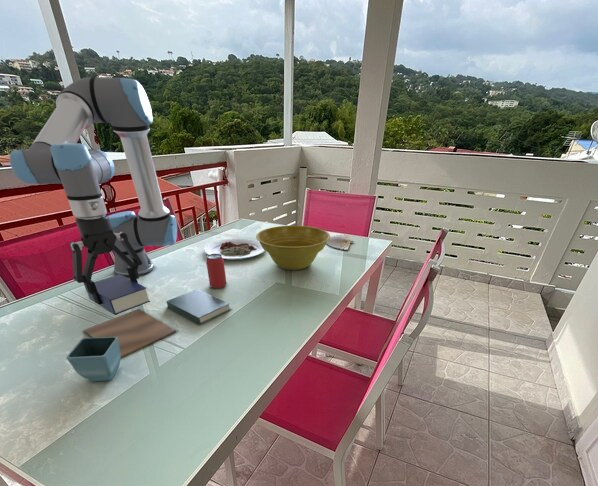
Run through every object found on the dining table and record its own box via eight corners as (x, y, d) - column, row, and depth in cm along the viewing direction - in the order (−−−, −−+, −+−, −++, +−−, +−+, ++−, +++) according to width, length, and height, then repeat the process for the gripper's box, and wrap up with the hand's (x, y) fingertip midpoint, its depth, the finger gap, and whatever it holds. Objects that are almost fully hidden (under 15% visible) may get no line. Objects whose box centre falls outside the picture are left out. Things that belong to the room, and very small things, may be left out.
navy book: (89, 299, 97) (84, 284, 94) (124, 287, 103) (119, 274, 101) (114, 315, 89) (109, 300, 87) (150, 301, 96) (146, 287, 93)
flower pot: (94, 365, 89) (82, 337, 83) (128, 363, 89) (118, 336, 84) (79, 387, 81) (64, 357, 76) (116, 385, 82) (104, 356, 77)
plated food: (248, 266, 149) (248, 258, 147) (192, 257, 157) (191, 250, 155) (275, 246, 172) (275, 239, 170) (225, 239, 180) (224, 233, 178)
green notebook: (167, 307, 116) (166, 301, 114) (198, 295, 124) (197, 289, 122) (199, 324, 107) (198, 317, 105) (230, 309, 115) (229, 303, 113)
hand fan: (352, 235, 189) (325, 234, 189) (352, 234, 188) (325, 233, 189) (355, 250, 167) (325, 249, 168) (355, 249, 167) (325, 248, 167)
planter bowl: (244, 271, 143) (242, 240, 136) (276, 249, 168) (275, 221, 160) (314, 283, 134) (315, 251, 126) (337, 258, 158) (339, 229, 150)
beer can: (223, 289, 128) (219, 259, 121) (207, 288, 129) (202, 258, 122) (229, 283, 133) (225, 253, 126) (214, 281, 134) (209, 252, 127)
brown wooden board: (84, 331, 102) (83, 329, 102) (138, 310, 114) (138, 308, 114) (119, 358, 91) (119, 356, 91) (176, 331, 103) (175, 330, 102)
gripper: (45, 228, 73) (82, 315, 86) (142, 210, 88) (161, 286, 101) (33, 222, 77) (70, 306, 90) (127, 206, 92) (147, 280, 105)
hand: (118, 296), depth 95 cm, fingers closed on navy book, 10 cm apart
